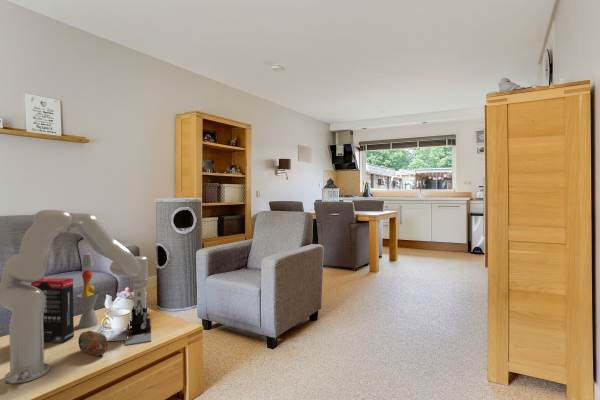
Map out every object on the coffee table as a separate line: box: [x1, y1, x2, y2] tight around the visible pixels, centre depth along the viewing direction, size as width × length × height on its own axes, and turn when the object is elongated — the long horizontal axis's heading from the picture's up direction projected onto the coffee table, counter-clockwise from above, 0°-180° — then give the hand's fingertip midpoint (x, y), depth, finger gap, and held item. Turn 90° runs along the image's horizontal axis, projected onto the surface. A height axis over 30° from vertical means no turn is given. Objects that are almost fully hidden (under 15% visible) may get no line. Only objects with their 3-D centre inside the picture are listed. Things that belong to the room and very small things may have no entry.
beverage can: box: [131, 305, 148, 335], centre depth 161 cm, size 7×7×12 cm
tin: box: [77, 330, 108, 357], centre depth 140 cm, size 15×3×8 cm, turn 65°
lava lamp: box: [76, 253, 100, 329], centre depth 170 cm, size 9×9×35 cm
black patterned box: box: [126, 317, 152, 334], centre depth 162 cm, size 10×10×4 cm
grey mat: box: [125, 332, 152, 346], centre depth 153 cm, size 9×10×1 cm
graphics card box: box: [31, 277, 75, 344], centre depth 152 cm, size 17×7×27 cm, turn 84°
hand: (139, 319), depth 162 cm, fingers open, 9 cm apart
